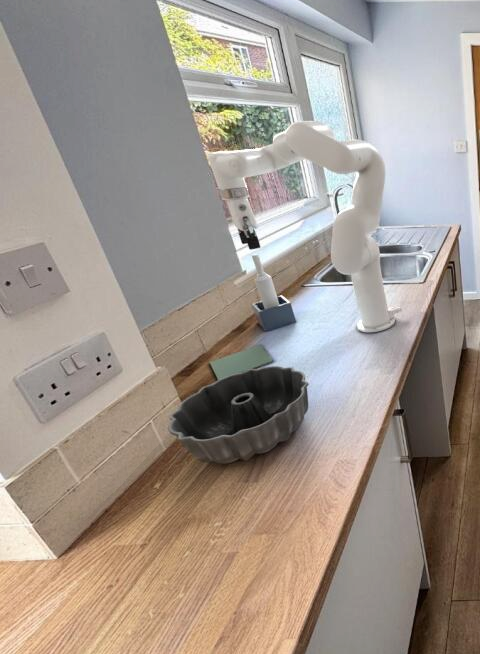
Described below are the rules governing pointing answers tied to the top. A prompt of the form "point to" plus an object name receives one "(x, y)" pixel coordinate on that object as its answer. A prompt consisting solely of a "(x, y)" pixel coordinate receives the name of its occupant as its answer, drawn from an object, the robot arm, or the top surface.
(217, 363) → the mat
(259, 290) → the bottle
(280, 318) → the box
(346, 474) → the top surface
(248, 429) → the bundt pan
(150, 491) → the top surface
